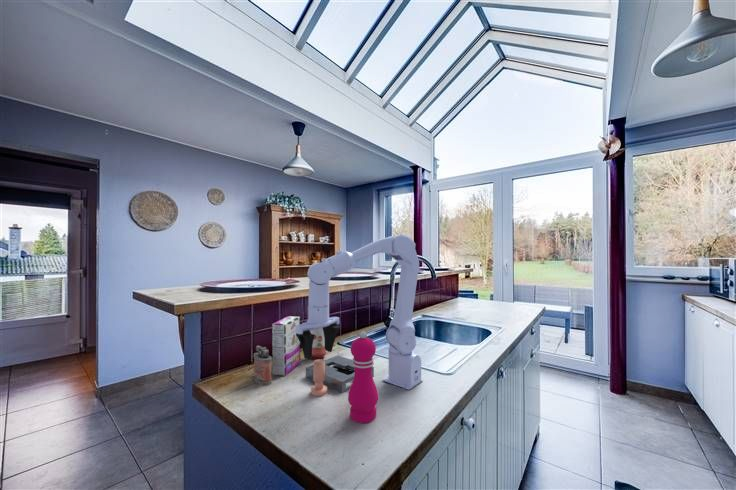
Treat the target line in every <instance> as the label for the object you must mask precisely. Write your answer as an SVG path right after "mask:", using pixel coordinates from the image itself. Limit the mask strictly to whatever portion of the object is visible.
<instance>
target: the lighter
mask: <svg viewBox="0 0 736 490" xmlns="http://www.w3.org/2000/svg"><path fill="white" fill-rule="evenodd" d="M255 351H256V352H254V353H253V364H254V365H253V366H254V367H253V371H254V372H253V378H252V379H253V380H254V381H255V382H256V383H257V384H259V385H262V386H265V387H266V386H270V385H272V383H273V382H272V381H273V380H272V356H271V355H269V349H268V348H267V346H264V347H263V346H260V345H256V347H255Z"/></svg>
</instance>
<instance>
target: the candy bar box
mask: <svg viewBox="0 0 736 490" xmlns="http://www.w3.org/2000/svg"><path fill="white" fill-rule="evenodd" d="M271 324H272V325H271V332H272V333H271V334H272V335H271V338H272V339H271V343H272V345H271V346H272V349H271V350H272V356H271V357H272V361H271V372H272V376H279V377H280V376H281V377H284V376H285V377H286V376H287V375H288V374H290V373H291V372H292V371H293V370H294V369H295V368H296V367H297V366H299V365H300V364H301V344H300V341H299V339H298V338H297V336H296V333H295V326H297V325H300V324H301V316H291V315H289V316H285V317H283V318H281V319H279V320H278V321H276V322H275V321H274V323H271Z"/></svg>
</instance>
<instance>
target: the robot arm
mask: <svg viewBox="0 0 736 490" xmlns="http://www.w3.org/2000/svg"><path fill="white" fill-rule="evenodd" d="M416 245H417V243H415V241H414V239H412V238H411V237H410V236H409V235H407V234H399V235H389V236H387V237H384V238H380V239H376V240H375V241H372V242H370V243H368V244H365V245H364V246H362V247H360V248H358V249H356V250H353V251H352V252H349V251H347V250H337V251H336V254H334V255H332V256H330V257H328V258H327V257H326V258H325V257H323V258H321V262H314V263H312V264H311V265H310V266H309V268H308V269H307V273H306V274H307V278H308V279H309V282H308V305H309V309H308V310H309V312H308V311H307V321H305V322H303V323H300V325H297V326H295V333H296V336H297V338H298V339H299V341H300V347H301V348H302V349H301V350H302V353H303V357H304V359H306V360H311V359H312V358H311V357H312V345H313V340H314V337H315V335H314V334H311V332H310V331H311V330H315V329H319V328H323V332H324V339H325V351H326V352H329V353H331V352H332V351H333V348H334V344H335V341H336V338H337V335H338V334H339V332H340V330H341V326H340V317H339V316H331V317H330V287H329V286H330V280H331V278H336V277H338V276H340V275H342V274H345V273H346V272H349V271H351V270H352V269H354V267H355V265H356V263H357V262H360V261H363V260H365V259H368V258H370V257H373V256H375V255H377V254H387V256H389V257H391V258H392V259H394V260H395V261H396V263H397V264H398V265H399V266H400V274H399V280H398V281H399V282H398V287H397V288H398V289H397V294H396V295H397V296H396V302H395V307H394V309H395V310H394V314H393V315H394V317H393V318H392V319H391V320H390V323H389V327H388V328H387V330H386V333H385V340H386V341H387V343H388V375H386V376H385V377H384V378H382V381H383V382H386V383H387V384H388V383H389V384H392V385H395V386H398V387H401V388H402V389H406V390H411V389H412V388H414V387H415V386H417V385H418V384H420V383H421V382H423V378H422V360H421V356H420V355H419V354H416V353H415V352H414V350H415V348H416V346H417V339H416V334H415V333H416V329H415V326H414V323H413V312H414V305H415V299H416V291H417V283H418V277H419V276H418V275H419V270H420V261H419V257H418V254H417V250H416Z"/></svg>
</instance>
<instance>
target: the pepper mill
mask: <svg viewBox="0 0 736 490" xmlns="http://www.w3.org/2000/svg"><path fill="white" fill-rule="evenodd" d="M350 345H351V346H350V353H351V355H352V356H353V358H352V360H353V365H354V366H355V374H354V379H353V380H352V381H351V382H352V383H351V385H350V387H349V389H348V395H347V402H348V403H349V405H350V408H349V417H350V419H351V420H352V421H353V422H356V423H358V424H359V423H360V424H366V423H370V422H373V421H374V420H375V419H376V417H377V407H376V405H377V404H378V402H379V392H378V389H377V386H376V383H375V380H374V377H372V366H373V367H374V364H375V363H374V359H375V358H374V355H375V354H376V353H377V351H376V350H377V347H376V343H375V341H373V339H371V338H369V337H368V333H367V331H365V330H362V331H361V332H360V333H359V337H358V338H355V339H354V340H353V341H352V343H351V344H350Z"/></svg>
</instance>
